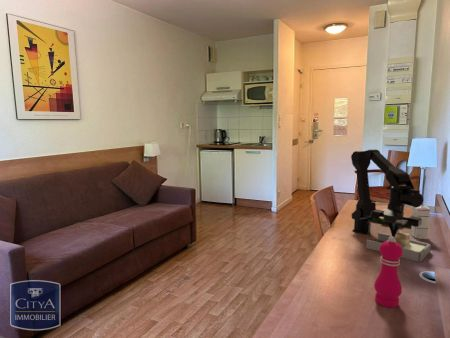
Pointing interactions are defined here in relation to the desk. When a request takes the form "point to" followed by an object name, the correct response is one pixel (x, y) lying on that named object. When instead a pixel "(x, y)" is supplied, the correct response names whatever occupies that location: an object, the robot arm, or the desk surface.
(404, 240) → the wooden cube
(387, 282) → the pepper mill
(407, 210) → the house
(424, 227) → the syrup box
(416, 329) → the desk surface
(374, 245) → the tray
